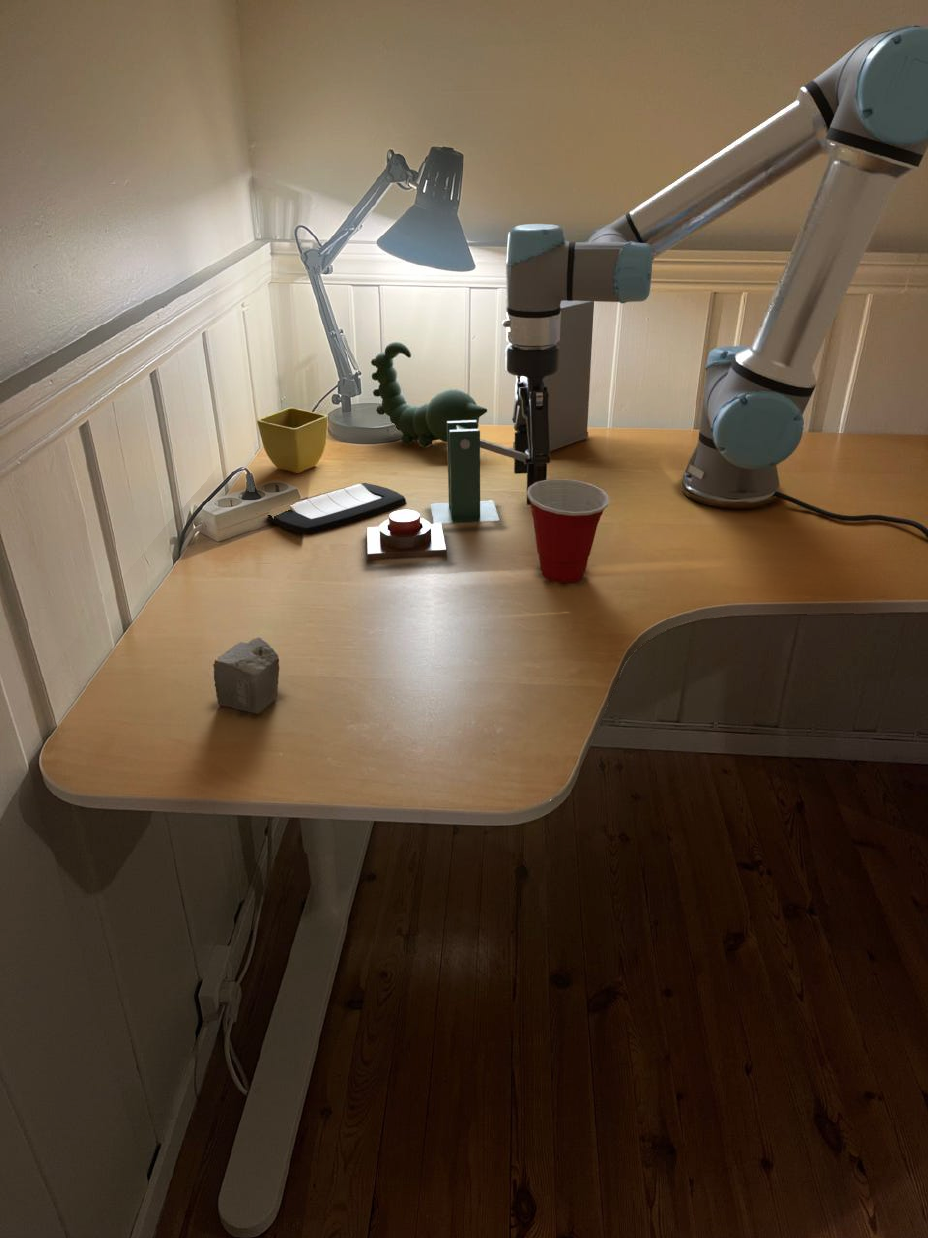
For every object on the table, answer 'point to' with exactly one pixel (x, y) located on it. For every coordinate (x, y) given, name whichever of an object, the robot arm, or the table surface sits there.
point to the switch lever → (501, 449)
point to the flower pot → (294, 438)
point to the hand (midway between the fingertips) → (529, 487)
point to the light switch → (338, 508)
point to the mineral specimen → (247, 676)
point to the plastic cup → (565, 525)
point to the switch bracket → (463, 479)
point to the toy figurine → (414, 419)
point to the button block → (405, 542)
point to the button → (404, 522)
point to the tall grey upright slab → (571, 376)
